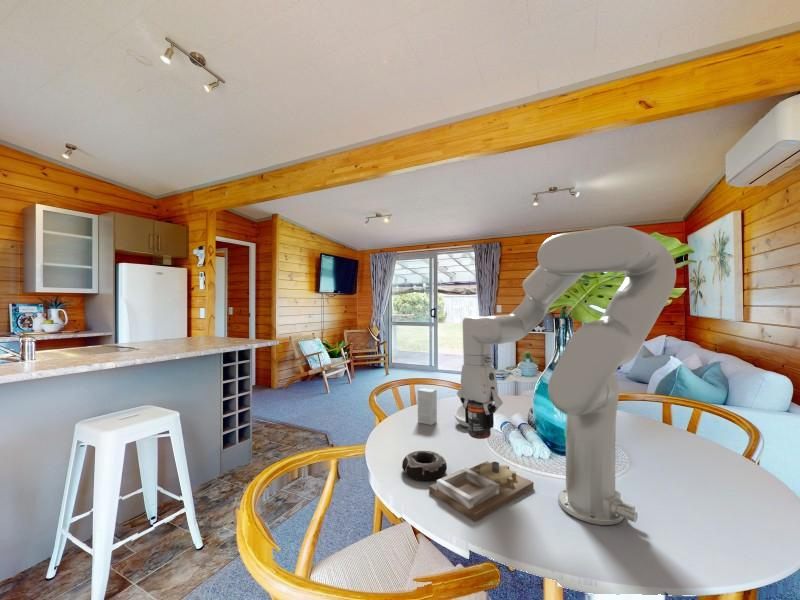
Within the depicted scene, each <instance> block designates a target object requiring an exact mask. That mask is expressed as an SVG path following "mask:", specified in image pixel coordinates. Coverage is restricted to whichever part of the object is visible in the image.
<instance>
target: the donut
mask: <svg viewBox="0 0 800 600" xmlns="http://www.w3.org/2000/svg"><path fill="white" fill-rule="evenodd" d="M401 463H402V464H401V465H402V466H401V468H402V470H403V472H404V474H405V475H406V476H407V477H409V478H411V479H413V480H416V481H420V482H431V481H435V480H436V481H437V480H438V479H441V478H443V477H444V475H445V474H446V472H447V462H446V459H445V458H444V457H443V456H442V455H441V454H439V453H437V452H435V451H430V450H416V451H413V452H410V453H408V454H407V455H405V457H404V458H403V460H402V462H401Z"/></svg>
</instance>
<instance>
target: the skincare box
mask: <svg viewBox="0 0 800 600" xmlns="http://www.w3.org/2000/svg"><path fill="white" fill-rule="evenodd" d="M437 391H438V390H437V389H432V388H425V387H422V388H419V389H418V390H417V423H419V424H425V425H430V426H433V425H434V424H436V423H437V422H438V418H437V417H438V416H437V415H438V409H437V407H438V406H437V405H438V404H437V403H438V401H437V397H438V396H437V394H438V393H437Z"/></svg>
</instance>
